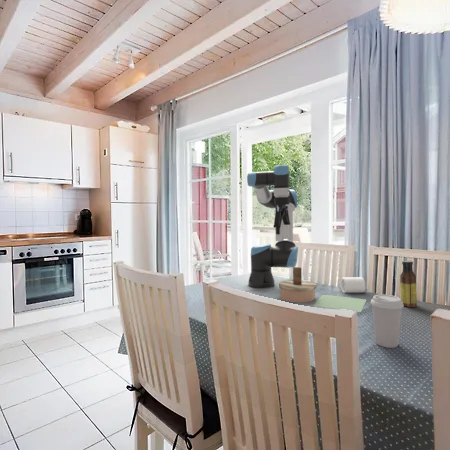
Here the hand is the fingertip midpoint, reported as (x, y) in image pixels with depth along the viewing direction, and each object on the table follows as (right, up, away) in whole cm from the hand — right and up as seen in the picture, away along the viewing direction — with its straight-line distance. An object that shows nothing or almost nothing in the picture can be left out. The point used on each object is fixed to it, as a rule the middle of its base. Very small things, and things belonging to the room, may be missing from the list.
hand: (282, 239), depth 160 cm
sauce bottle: (+52, -29, -19) cm, 63 cm away
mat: (+24, -29, -14) cm, 40 cm away
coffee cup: (+23, -32, -57) cm, 69 cm away
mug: (+37, -28, +6) cm, 47 cm away
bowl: (+7, -29, -4) cm, 30 cm away
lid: (+6, -23, -5) cm, 24 cm away
